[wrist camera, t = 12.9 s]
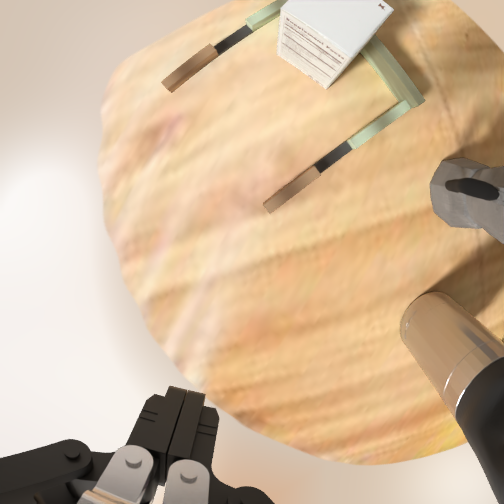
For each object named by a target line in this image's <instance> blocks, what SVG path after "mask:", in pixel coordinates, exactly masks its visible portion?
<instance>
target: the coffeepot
mask: <svg viewBox="0 0 504 504" xmlns="http://www.w3.org/2000/svg"><path fill="white" fill-rule="evenodd" d="M430 194H431V201H432V205H433V211H434V213H436V214H437V215H438V216H439V217H440V218H441V219H442V220H444V221H445V222H446V223H447V224H448V225H449V226H451V227H459V228H475V229H479V228H483V229H484V230H485V231H486V232H488V233H489V234H490V235H491V236H493V237H494V238H496V239H497V240H498V241H500V242H501V243H503V244H504V166H501V167H494V168H490V167H489V166H486V165H483V164H480V163H478V162H475V161H472V160H469V159H466V158H457V159H451V160H445V161H442V162H441V164H440V165H439V167H438V168H437V170H436V171H435V173H434V176H433V178H432V181H431V182H430Z"/></svg>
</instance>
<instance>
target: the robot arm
mask: <svg viewBox="0 0 504 504" xmlns="http://www.w3.org/2000/svg"><path fill="white" fill-rule="evenodd" d="M400 334H401V338H402V341H403V342H404V344H405V345H406V346H407V348H408V349H409V351H410V352H411V354H412V355H413V357H414V358H415V360H416V361H417V362H418V364H419V365H420V367H421V368H422V370H423V371H424V373H425V374H426V376H427V377H428V379H429V380H430V382H431V383H432V384H433V386H434V387H435V389H436V390H437V392H438V393H439V395H440V397H441V398H442V400H443V401H444V403H445V404H446V406H447V407H448V409H449V410H450V412H451V413H452V415H453V416H454V418H455V420H456V421H457V423H458V424H459V426H460V427H461V429H462V431H463V433H464V435H465V437H466V439H467V440H468V442H469V444H470V446H471V447H472V449H473V451H474V452H475V454H476V456H477V458H478V460H479V462H480V464H481V466H482V468H483V470H484V473H485V474H486V477H487V479H488V481H489V484H490V486H491V488H492V490H493V492H494V495H495V497H496V499H497V501H498V503H499V504H504V343H503V342H502V341H501V340H500V339H499V338H498V337H496V336H495V335H494V334H493V333H492V332H491V331H490V330H489V329H487V328H486V327H485V326H484V325H483V324H482V323H480V322H479V321H478V320H477V319H476V318H474V317H473V316H472V315H471V314H470V313H469V312H467V311H466V310H465V309H464V308H463V307H461V306H460V305H459V304H458V303H457V302H455V301H454V300H453V299H452V298H450V297H449V296H448V295H446V294H445V293H442V292H430V293H426V294H424V295H422V296H420V297H419V298H417V299H416V300H415V301H414V302H413V303H412V304H411V305H410V306H409V307H408V309H407V310H406V312H405V314H404V316H403V318H402V321H401V325H400ZM205 395H206V394H203V393H199V392H194V391H190V390H188V392H187V390H185V389H181V388H177V387H173V386H169V388H168V390H167V393H166V395H165V397H164V396H160V395H157V394H154V395H153V396H152V397H150V398H149V399H148V400H146V402H145V405H144V407H143V409H142V411H141V413H140V415H139V418H138V419H137V421H136V424H135V426H134V428H133V430H132V432H131V435H130V437H129V439H128V441H127V443H126V445H125V446H123V447H121V448H119V449H118V450H117V451H116V452H112V453H101V452H91V451H90V449H89V448H88V446H87V445H86V444H84V443H83V442H81V441H78V440H73V439H68V440H63V441H60V442H57V443H54V444H51V445H47V446H44V447H41V448H37V449H34V450H30V451H26V452H22V453H19V454H15V455H11V456H7V457H3V458H0V504H152V503H153V500H154V496H155V493H156V489H157V486H158V485H161V486H165V483H166V488H165V493H164V499H163V504H274V503H273V502H272V500H271V499H270V498H269V497H268V496H267V495H266V494H265V493H264V492H262V491H261V490H259V489H257V488H254V487H247V486H245V487H239V488H236V489H235V488H233V487H230V486H228V485H226V484H224V483H222V482H220V481H219V480H218V479H217V478H216V477H215V476H214V474H213V472H212V468H211V464H212V458H213V452H214V446H215V441H216V435H217V429H218V423H219V416H218V413H217V411H216V409H215V408H210V407H206V406H204V401H205Z"/></svg>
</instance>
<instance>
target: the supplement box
mask: <svg viewBox="0 0 504 504" xmlns="http://www.w3.org/2000/svg"><path fill="white" fill-rule="evenodd" d="M393 11H394V9H393V8H392V7H391V6H389V5H388V4H387V3H386V2H384V1H383V0H288V1H287V2H286V3H285V4H284V5H283V6H282V7H281V11H280V21H279V31H278V42H277V55H278V56H280V57H281V58H283V59H284V60H286V61H287V62H289V63H290V64H292V65H293V66H295V67H296V68H297V69H299V70H300V71H302V72H303V73H304V74H306V75H307V76H309V77H310V78H311V79H313V80H314V81H315V82H317V83H318V84H319V85H321V86H322V87H323V88H325V89H328V88H329V87H330V85H331V84H332V83H333V82H334V81H335V80H336V79H337V78H338V77H339V76H340V74H341V73H342V72H343V71H344V70H345V69H346V67H347V66H348V65H349V64H350V63H351V62H352V60H353V59H354V58H355V57H356V56H357V54H358V53H359V52H360V51H361V50H362V49H363V47H364V46H365V45H366V44H367V43H368V41H369V40H370V39H371V38H372V37H373V35H374V34H375V33H376V32H377V30H378V29H379V28H380V27H381V26H382V24H383V23H384V22H385V21H386V19H387V18H388V17H389V16H390V15H391V13H392V12H393Z"/></svg>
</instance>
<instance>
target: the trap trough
mask: <svg viewBox="0 0 504 504" xmlns="http://www.w3.org/2000/svg"><path fill="white" fill-rule="evenodd" d="M287 1H288V0H276V1H275V2H273V3H271V4H270V5H268V6H266V7H264V8H263V9H261V10H260V11H258V12H256V13H255V14H253V15H251V16H250V17H248V18H247V19H246V25H245V26H243V27H242V28H240V29H239V30H237V31H236V32H234V33H233V34H232V35H230V36H229V37H227V38H226V39H224V40H223V41H221V42H220V43H219V44H217V45H216V46H214V47H213V46H212V45H211V44H209V45H207V46H206V47H205V48H203V49H202V50H201V51H199V52H198V53H197V54H195V55H194V56H193V57H191V58H190V59H189V60H187V61H186V62H185V63H184V64H182V65H181V66H180V67H179V68H177V69H176V70H175V71H174V72H172V73H171V74H170V75H169V76H168V77H166V78H165V79H164V80H163V81H162V82H161V83H162V84H163V85H164V86H165V87H166V89H167V90H169V91H170V92H171V93H172V92H173V91H174V90H176V89H177V88H178V87H179V86H181V85H182V84H183V83H184V82H185V81H187V80H188V79H189V78H190V77H192V76H193V75H194V74H195V73H197V72H198V71H199V70H201V69H202V68H203V67H205V66H206V65H207V64H208V63H210V62H211V61H212V60H214V59H215V58H217V57H218V56H219V55H221V54H222V53H223V52H225V51H226V50H228V49H229V48H230V47H232V46H233V45H235V44H236V43H238V42H239V41H241V40H242V39H243V38H245V37H246V36H248V35H249V34H251V33H253V32H254V31H256V30H257V29H259V28H260V27H262V26H263V25H265V24H267V23H268V22H270V21H271V20H273V19H275V18H276V17H278V16H280V11H281V7H282V6H283V5H284V4H285V3H286V2H287ZM360 53H361V54H362V55H363V56H364V58H365V59H366V60H367V61H368V63H369V64H370V65H371V66H372V67H373V69H374V70H375V71H376V73H377V74H378V75H379V76H380V78H381V79H382V80H383V82H384V83H385V84H386V86H387V87H388V88H389V90H390V91H391V92H392V94H393V95H394V96H395V98H396V99H397V101H398V102H399V103H397V104H396V105H395V106H393V107H392V108H390V109H389V110H388V111H386V112H385V113H383V114H382V115H381V116H379V117H378V118H376V119H375V120H374V121H372V122H371V123H370V124H368V125H367V126H365V127H364V128H363V129H361V130H360V131H359V132H357V133H356V134H354V135H353V136H352V137H350V138H349V139H348V140H346V141H345V142H344V143H342V144H341V145H339V146H338V147H337V148H335V149H334V150H333V151H331V152H330V153H329V154H327V155H326V156H325V157H323V158H322V159H321V160H319V161H318V162H317V163H315V164H314V165H313V166H311V167H310V168H309V169H307V170H306V171H305V172H303V173H302V174H301V175H299V176H298V177H297V178H295V179H294V180H293V181H291V182H290V183H289V184H288V185H286V186H285V187H284V188H282V189H281V190H280V191H278V192H277V193H276V194H274V195H273V196H272V197H271V198H269V199H268V200H267V201H265V202H264V203H263V206H264V207H265V208H266V210H267V211H268V212H269V214H271V213H272V212H273V211H275V210H276V209H277V208H278V207H280V206H281V205H282V204H284V203H285V202H286V201H288V200H289V199H290V198H292V197H293V196H294V195H295V194H297V193H298V192H299V191H301V190H302V189H303V188H305V187H306V186H307V185H309V184H310V183H311V182H313V181H314V180H315V179H317V178H318V177H319V176H321V174H320V173H322V172H323V171H324V170H326V169H327V168H328V167H330V166H331V165H332V164H334V163H335V162H336V161H338V160H339V159H340V158H342V157H343V156H344V155H346V154H347V153H348V152H350V151H351V150H352V149H357V148H358V147H359V146H361V145H362V144H363V143H365V142H366V141H367V140H369V139H370V138H371V137H373V136H374V135H376V134H377V133H378V132H380V131H381V130H382V129H384V128H385V127H386V126H388V125H389V124H391V123H392V122H393V121H395V120H396V119H397V118H399V117H400V116H401V115H403V114H404V113H406V112H407V111H408V110H410V109H411V108H414V107H417V106H419V105H420V104H422V103H423V102H425V99H424V98H423V96H422V95H421V93H420V92H419V90H418V89H417V88H416V86H415V85H414V83H413V82H412V81H411V79H410V78H409V76H408V75H407V74H406V72H405V71H404V70H403V68H402V67H401V66H400V64H399V63H398V62H397V61H396V59H395V58H394V57H393V56H392V54H391V53H390V52H389V51H388V49H387V48H386V47H385V46H384V44H383V43H382V42H381V41H380V40H379V39H378V37H377V36H376V35H375V34H374V35H373V37H372V38H371V39H370V40H369V41H368V43H367V44H366V45H365V46H364V47H363V49H362V50H361V51H360Z"/></svg>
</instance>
